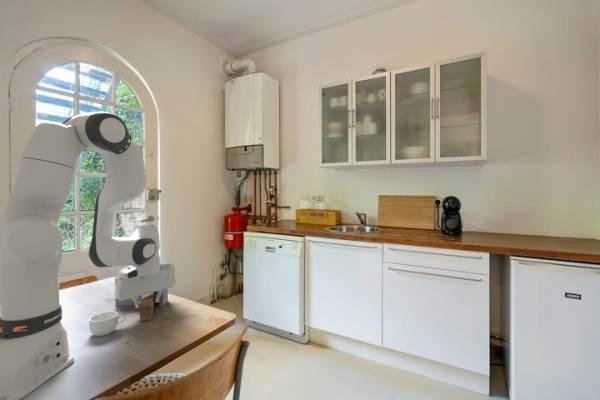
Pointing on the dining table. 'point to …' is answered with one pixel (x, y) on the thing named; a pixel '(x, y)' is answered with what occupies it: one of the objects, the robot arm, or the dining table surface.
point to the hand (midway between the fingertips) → (147, 304)
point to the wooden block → (147, 306)
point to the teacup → (104, 322)
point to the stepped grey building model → (162, 299)
